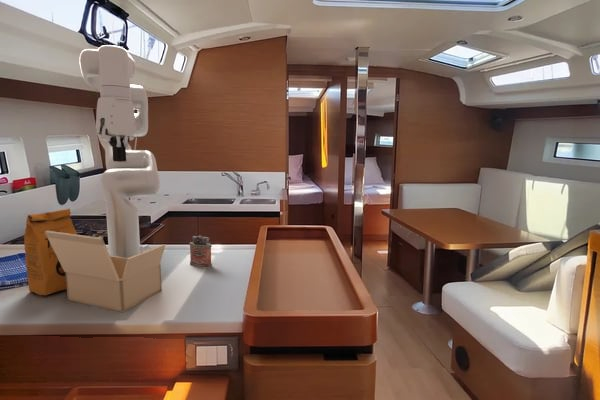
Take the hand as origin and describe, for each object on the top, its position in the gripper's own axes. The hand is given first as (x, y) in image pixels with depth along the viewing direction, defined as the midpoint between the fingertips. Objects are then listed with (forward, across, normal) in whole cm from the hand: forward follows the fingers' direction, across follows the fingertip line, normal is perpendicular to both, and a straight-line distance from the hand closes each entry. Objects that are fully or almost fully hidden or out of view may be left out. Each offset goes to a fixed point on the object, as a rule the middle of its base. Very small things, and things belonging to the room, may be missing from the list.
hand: (119, 161), depth 107 cm
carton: (+35, +10, +6) cm, 37 cm away
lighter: (+35, -19, +13) cm, 42 cm away
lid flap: (+21, +19, +6) cm, 29 cm away
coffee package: (+35, +12, -12) cm, 39 cm away
